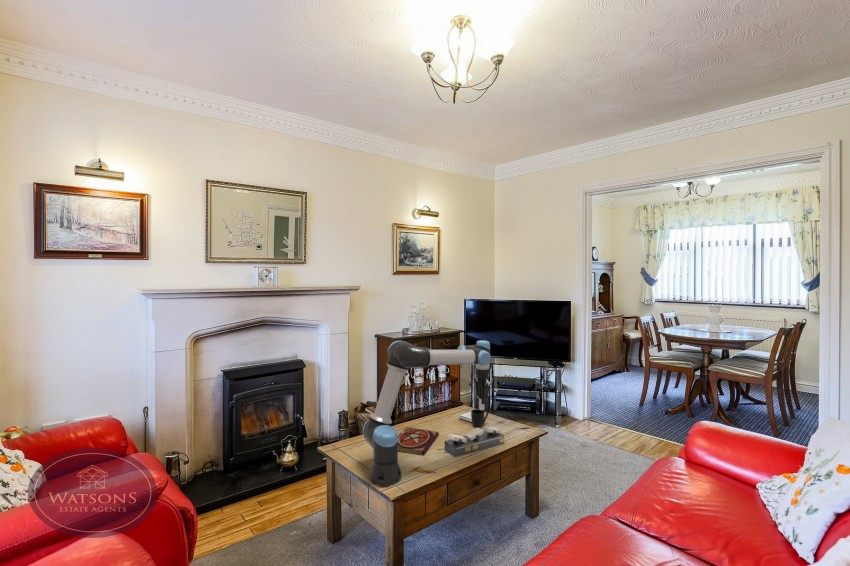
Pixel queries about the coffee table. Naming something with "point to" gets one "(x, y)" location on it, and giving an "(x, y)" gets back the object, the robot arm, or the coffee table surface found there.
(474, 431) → the white rectangular block
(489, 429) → the block
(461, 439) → the block
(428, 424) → the coffee table surface
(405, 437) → the book
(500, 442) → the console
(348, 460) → the coffee table surface
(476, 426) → the mug
